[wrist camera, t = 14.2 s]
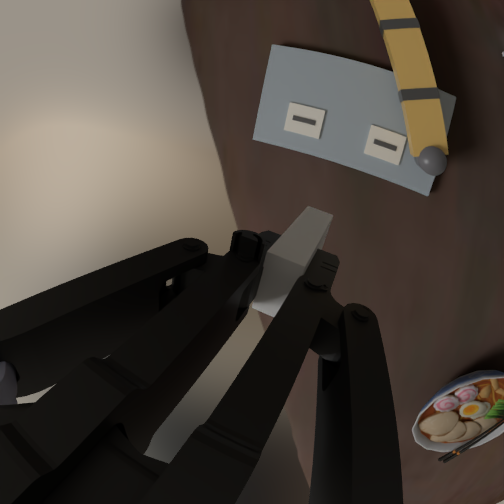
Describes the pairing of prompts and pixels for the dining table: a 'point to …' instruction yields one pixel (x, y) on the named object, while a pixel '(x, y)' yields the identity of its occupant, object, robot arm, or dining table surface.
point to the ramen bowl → (462, 414)
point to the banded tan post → (414, 84)
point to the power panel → (340, 114)
